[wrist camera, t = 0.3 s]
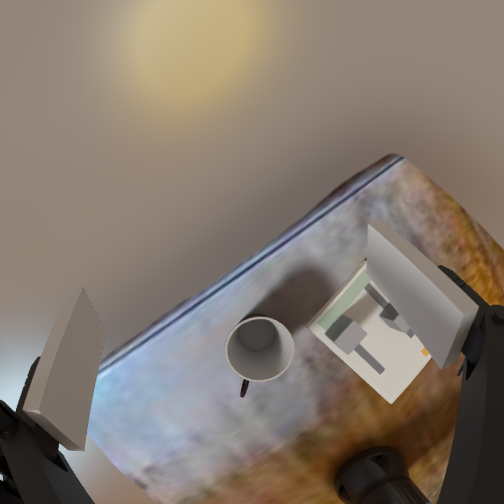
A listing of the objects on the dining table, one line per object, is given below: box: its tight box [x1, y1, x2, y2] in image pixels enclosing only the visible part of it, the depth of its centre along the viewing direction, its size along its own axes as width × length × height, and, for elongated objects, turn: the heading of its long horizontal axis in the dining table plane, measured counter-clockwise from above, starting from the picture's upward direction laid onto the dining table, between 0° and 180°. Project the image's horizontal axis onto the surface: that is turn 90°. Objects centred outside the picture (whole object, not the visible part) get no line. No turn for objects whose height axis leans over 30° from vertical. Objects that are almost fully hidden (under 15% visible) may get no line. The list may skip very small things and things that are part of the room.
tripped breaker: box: [379, 303, 410, 334], centre depth 43 cm, size 3×4×5 cm
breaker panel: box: [305, 261, 432, 404], centre depth 46 cm, size 22×14×2 cm, turn 46°
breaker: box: [325, 315, 367, 355], centre depth 42 cm, size 3×4×5 cm
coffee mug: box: [225, 314, 294, 397], centre depth 42 cm, size 12×9×10 cm
